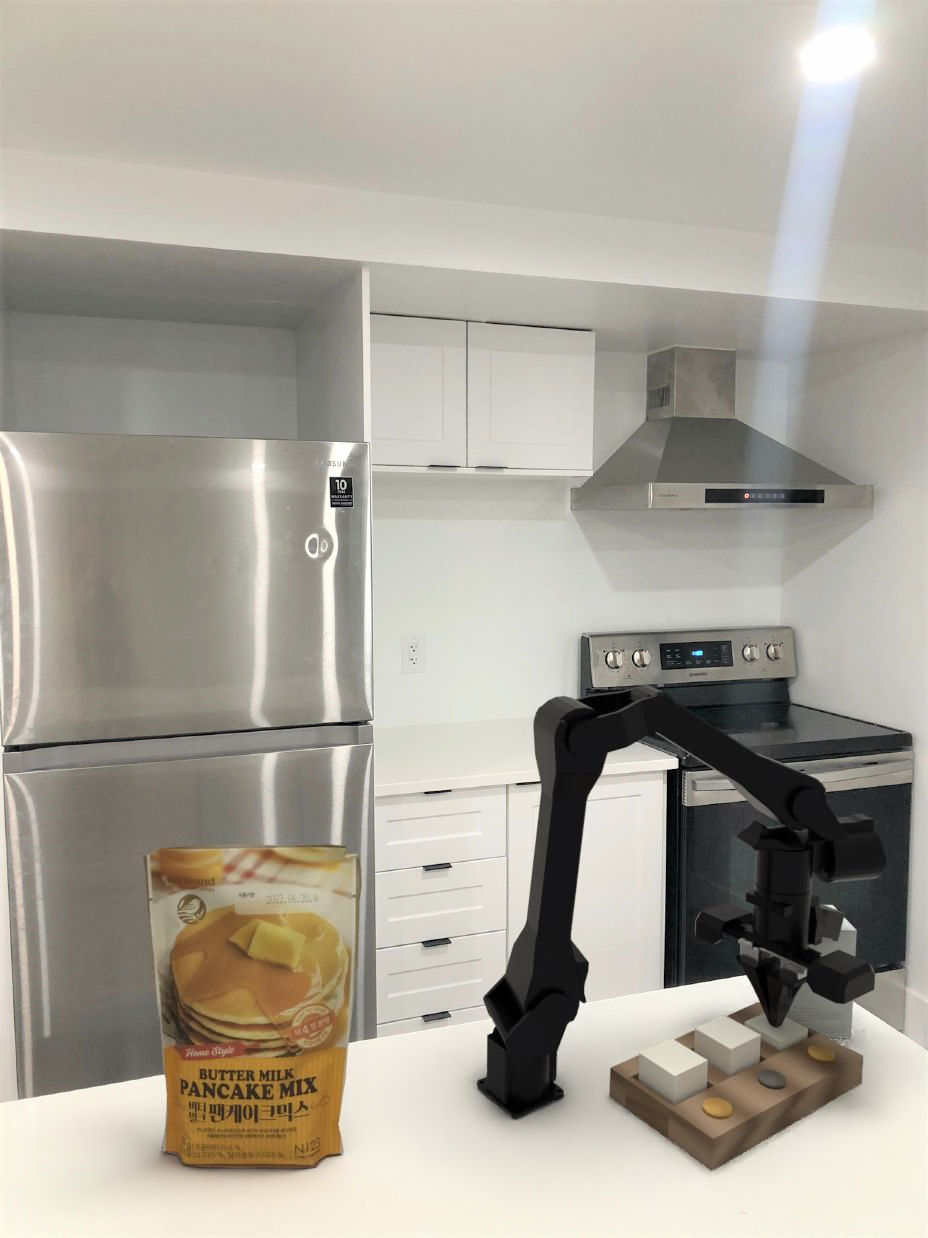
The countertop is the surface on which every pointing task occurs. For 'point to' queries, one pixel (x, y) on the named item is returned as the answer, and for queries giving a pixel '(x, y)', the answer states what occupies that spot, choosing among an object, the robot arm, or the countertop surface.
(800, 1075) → the button board
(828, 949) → the supplement box
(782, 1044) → the far button
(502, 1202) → the countertop surface
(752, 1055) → the middle button
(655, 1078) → the near button
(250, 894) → the pancake mix bag
